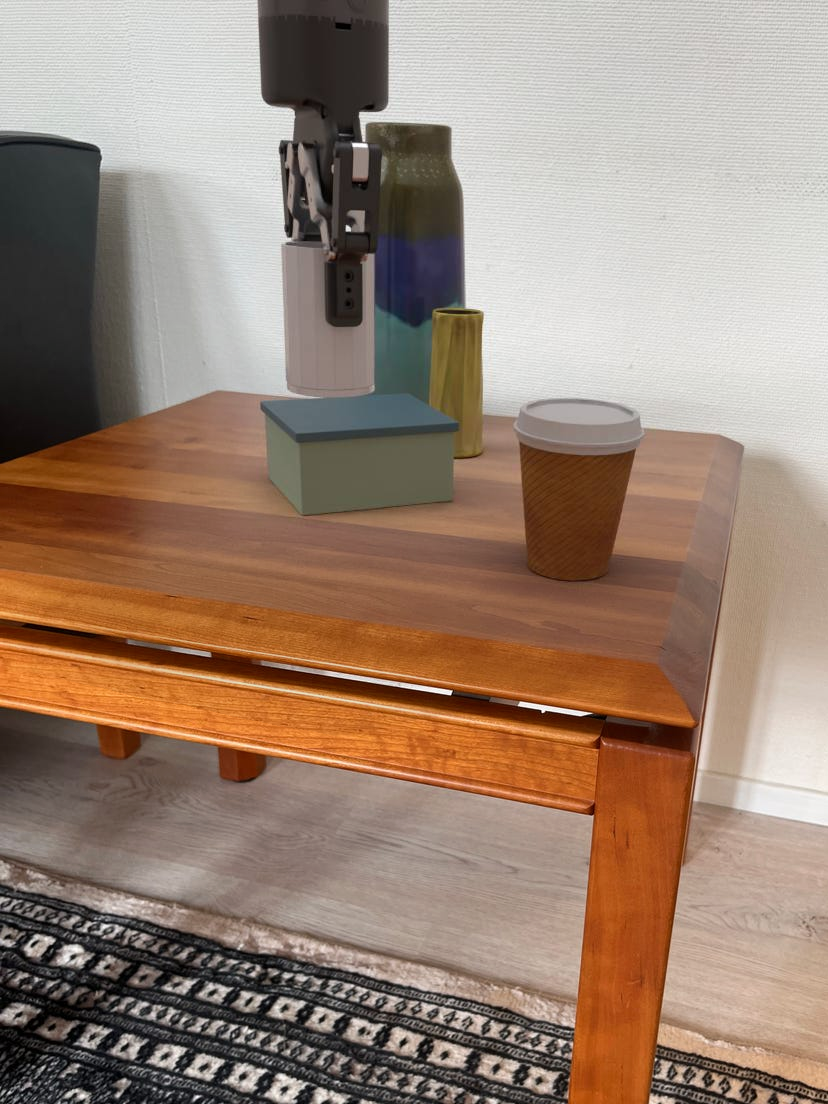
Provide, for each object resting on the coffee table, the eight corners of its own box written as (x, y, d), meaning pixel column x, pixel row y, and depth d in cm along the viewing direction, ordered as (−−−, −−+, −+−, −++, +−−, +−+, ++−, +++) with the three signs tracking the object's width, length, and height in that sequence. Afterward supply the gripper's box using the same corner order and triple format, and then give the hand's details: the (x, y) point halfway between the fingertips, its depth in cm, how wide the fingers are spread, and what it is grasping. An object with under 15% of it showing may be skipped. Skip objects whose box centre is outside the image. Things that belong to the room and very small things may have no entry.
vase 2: (438, 460, 105) (441, 316, 99) (417, 445, 110) (418, 307, 104) (492, 456, 107) (498, 314, 101) (469, 441, 112) (473, 306, 106)
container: (299, 517, 87) (296, 433, 84) (264, 477, 97) (260, 401, 94) (457, 501, 92) (459, 422, 89) (407, 465, 103) (408, 393, 100)
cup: (300, 399, 65) (295, 248, 61) (277, 381, 69) (272, 240, 66) (386, 395, 67) (387, 249, 63) (359, 378, 72) (358, 241, 68)
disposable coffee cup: (627, 595, 74) (644, 430, 69) (497, 582, 75) (504, 420, 70) (632, 550, 82) (648, 401, 77) (515, 539, 84) (523, 392, 78)
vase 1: (437, 434, 115) (443, 122, 101) (327, 419, 119) (319, 119, 106) (481, 410, 126) (491, 128, 113) (380, 398, 131) (378, 125, 117)
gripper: (233, 22, 64) (247, 304, 71) (291, -4, 52) (302, 337, 59) (348, 33, 66) (351, 303, 74) (429, 10, 55) (423, 334, 62)
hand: (329, 317), depth 66 cm, fingers closed on cup, 6 cm apart
